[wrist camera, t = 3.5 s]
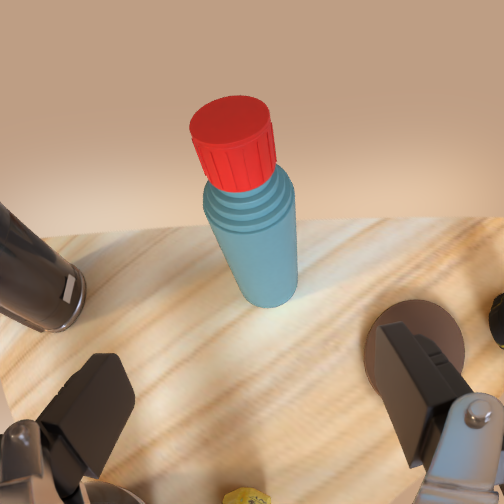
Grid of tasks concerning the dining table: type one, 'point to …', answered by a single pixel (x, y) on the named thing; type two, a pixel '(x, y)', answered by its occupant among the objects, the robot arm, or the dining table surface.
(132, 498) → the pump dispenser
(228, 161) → the cap
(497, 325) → the tape measure
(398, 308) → the coaster
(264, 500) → the chocolate bunny
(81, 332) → the dining table surface
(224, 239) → the bottle
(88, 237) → the dining table surface
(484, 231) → the dining table surface
